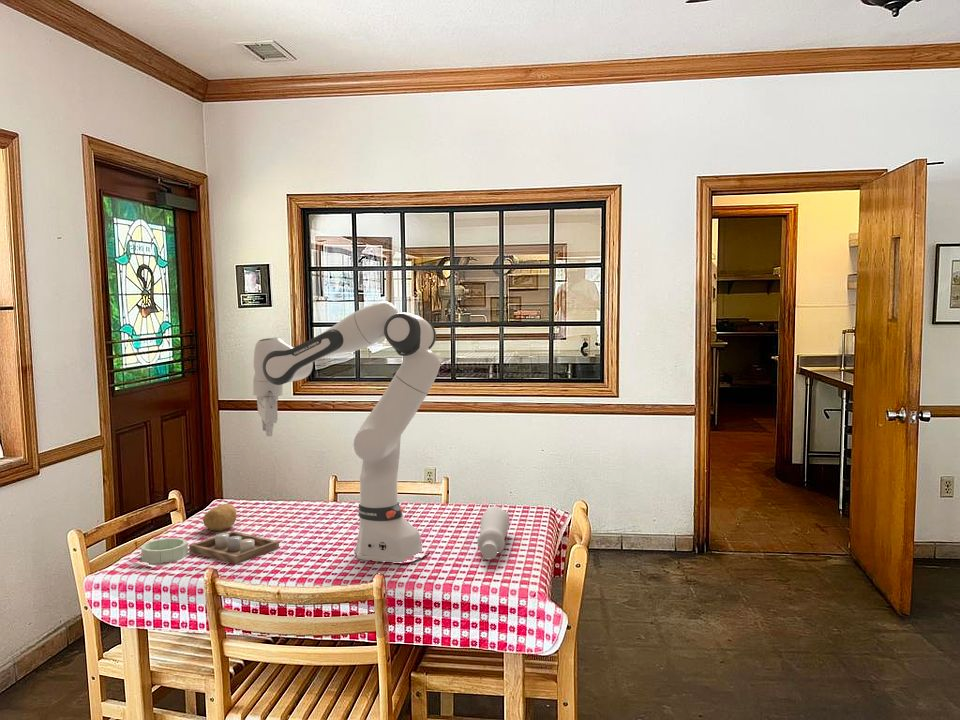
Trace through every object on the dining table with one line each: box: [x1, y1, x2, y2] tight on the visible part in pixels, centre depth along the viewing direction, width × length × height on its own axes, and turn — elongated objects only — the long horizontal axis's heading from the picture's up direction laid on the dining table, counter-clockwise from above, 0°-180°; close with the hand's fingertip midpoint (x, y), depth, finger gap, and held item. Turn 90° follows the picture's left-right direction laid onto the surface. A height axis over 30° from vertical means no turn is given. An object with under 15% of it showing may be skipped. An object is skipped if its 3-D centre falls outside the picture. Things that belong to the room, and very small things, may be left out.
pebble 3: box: [240, 539, 254, 553], centre depth 206 cm, size 4×4×4 cm
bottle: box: [477, 505, 510, 560], centre depth 213 cm, size 9×9×30 cm
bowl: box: [140, 537, 189, 564], centre depth 204 cm, size 12×12×4 cm
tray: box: [188, 530, 280, 565], centre depth 209 cm, size 20×16×3 cm
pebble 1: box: [214, 532, 229, 549], centre depth 212 cm, size 4×4×4 cm
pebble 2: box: [227, 536, 242, 552], centre depth 209 cm, size 4×4×4 cm
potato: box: [202, 503, 238, 532], centre depth 231 cm, size 10×14×8 cm
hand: (267, 433), depth 221 cm, fingers open, 8 cm apart
